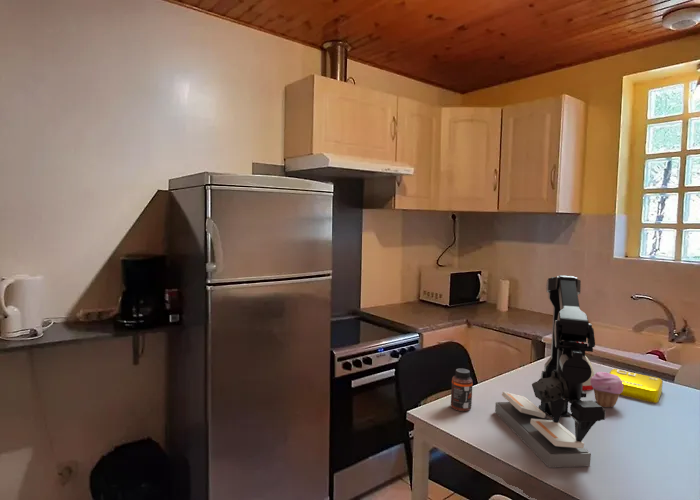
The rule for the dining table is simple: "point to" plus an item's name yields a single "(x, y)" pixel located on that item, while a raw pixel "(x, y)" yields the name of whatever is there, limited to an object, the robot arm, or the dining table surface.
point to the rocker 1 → (523, 404)
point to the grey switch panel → (541, 439)
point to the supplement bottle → (461, 390)
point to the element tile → (639, 385)
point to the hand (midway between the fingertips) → (566, 431)
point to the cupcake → (606, 388)
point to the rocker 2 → (556, 433)
